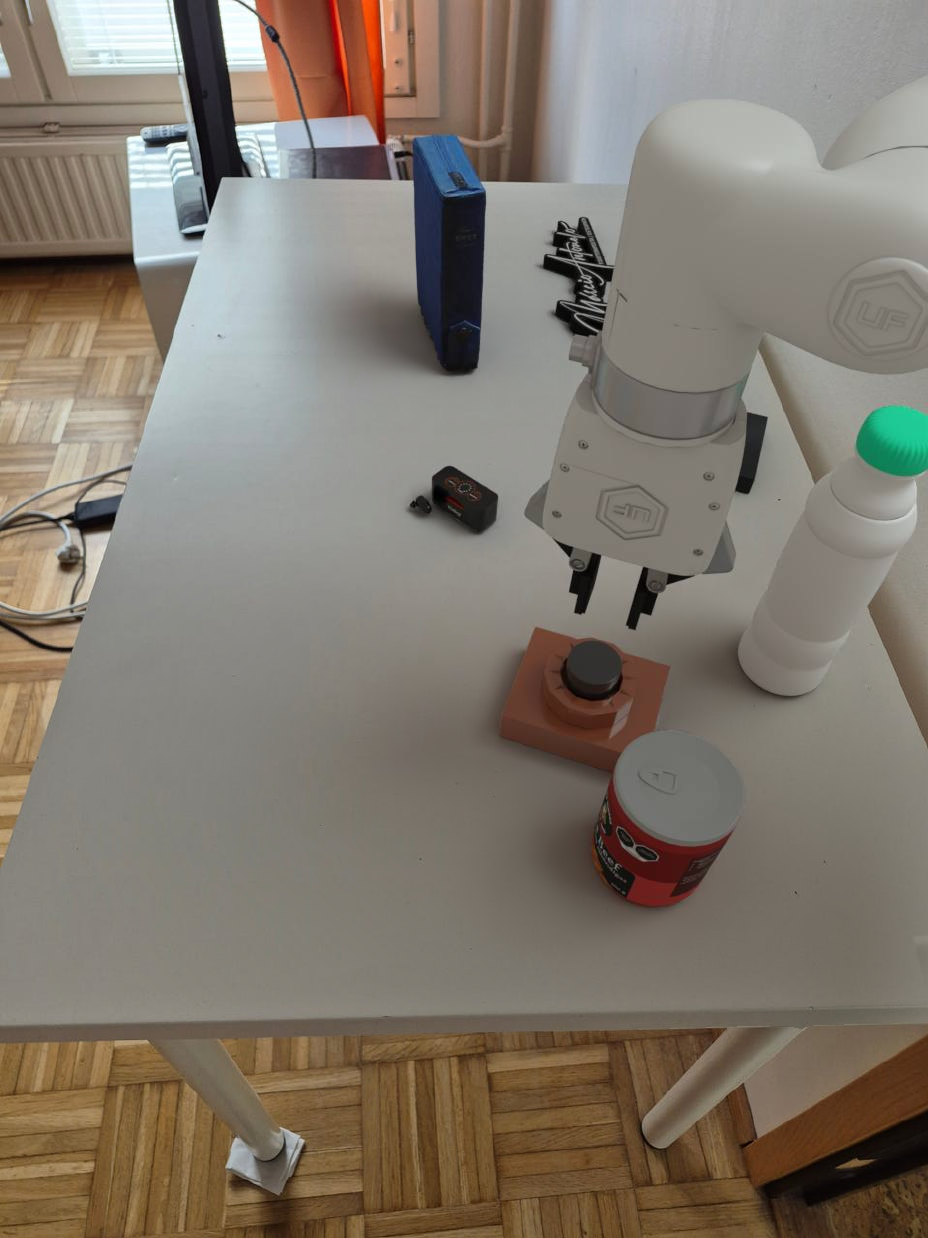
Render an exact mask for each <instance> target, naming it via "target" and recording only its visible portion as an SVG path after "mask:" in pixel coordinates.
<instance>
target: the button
mask: <svg viewBox="0 0 928 1238" xmlns="http://www.w3.org/2000/svg"><path fill="white" fill-rule="evenodd" d="M621 671H622V661H621V658H620V656H619V654H618V653H617V651H616V650H615V649H614V648H612V647H611V646H609V645H608V644H606V643H603V642H600V641H584V642H581V643H579V644H577V645H576V646H574V647H573V648H572V649H571V651H570V652H569V655H568V659H567V663H566V668H565V673H564V677H565V681H566V684H567V686H568V687H569V689H570V690H571V691H572V692H573V693H575V694H576V695H578V696H580V697H582V698H585V699H589V700H599V699H603V698H606V697H608V696H609V695H611V694H612V693H613V692H614V690H615V689H616V687H617V684H618V681H619V677H620V674H621Z"/></svg>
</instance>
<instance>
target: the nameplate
mask: <svg viewBox="0 0 928 1238" xmlns="http://www.w3.org/2000/svg"><path fill="white" fill-rule="evenodd" d="M552 246H553V247H556V250H555V254H551V253H545V254H544V255H543V263H542V264H543V265H542V268H543V269H544V270H547V271H550V272H553V273H556V274H560V275H562V276H565V277H568V278H571V279H573V281H574V286H573V287H574V288H573V294H574V295H575V298H574V301H570V300H565V299H559V300H557V301H556V304H555V305H556V306H555V316H556V317H557V318H559V319H560V320H562V321H563V322H566V323H567V324H569V327H568V328H569V330H570V331H571V332H572V333H573V335H575V334H577V335H581V336H585V337H589V335H593V336H597V334H598V332H599V330H600V331H602V330H603V324H604V319H605V314H606V308H607V303H608V301H607V302H605V301H604V299H603V298H604V296H605V294H606V289H607V288H606V287H607V282H611V281H612V276H613V270H614V265H615V264H614V265H613V264H607V261H606V258H605V256H604V254H603V251H602V248H601V246H600V243H599V241H598V239H597V237H596V233H595V232H594V229H593V226H592V223H591V221H590V219H589V218H588V217H586V216H580V217H578V221H577V227H576V229H575V228H573V227H570V225H569V224H568V223H567V222H566V221H563V220H558V221H557V227H556V231H554V232H553V237H552Z"/></svg>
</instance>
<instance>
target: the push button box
mask: <svg viewBox="0 0 928 1238" xmlns="http://www.w3.org/2000/svg"><path fill="white" fill-rule="evenodd" d="M584 641H600V642H603V643H606V644H608V645H609V646H611V647H612V648H614V649H615V650H616V651H617V653H618V654H619V656H620V658H621V661H622V671H621V674H620V677H619V681H618V684H617V687H616V689H615V690H614V692H613V693H612V694H611V695H609V696H608V697H606V698H603V699H599V700H589V699H585V698H582V697H580V696H578V695H576V694H575V693H573V692H572V691H571V690H570V689H569V687H568V686H567V684H566V681H565V677H564V673H565V668H566V663H567V659H568V655H569V652H570V651H571V649H572V648H573V647H574V646H576V645H577V644H579V643H581V642H584ZM670 668H671V666H670V665H668V664H664V663H661V662H657V661H654V660H652V659H647V658H644V657H640V656H637V655H635V654H630V653H627V652H624V651H623V650H622V649H621V648H619V647H618V646H617V645H616V644H614V643H612V642H609V641H605V640H601V639H598V638H595V637H581V638H576V637H572V636H568V635H566V634H563V633H558V632H556V631H552V630H549V629H546V628H543V627H539V626H535V627H534V629H533V632H532V634H531V636H530V639H529V642H528V644H527V647H526V649H525V653H524V655H523V657H522V660H521V662H520V665H519V668H518V670H517V673H516V676H515V678H514V681H513V684H512V686H511V688H510V692H509V694H508V697H507V699H506V702H505V704H504V707H503V710H502V713H501V714H500V715H501V716H500V722H499V730H498V737H501V738H503V739H507V740H511V741H513V742H516V743H518V744H519V743H520V744H522V745H525V746H529V747H532V748H535V749H538V750H541V751H544V752H547V753H551V754H554V755H557V756H561V757H563V758H566V759H570V760H572V761H576V762H578V763H581V764H585V765H589V766H591V767H594V768H598V769H601V770H604V771H607V772H611V773H613V771H614V768H615V766H616V763H617V761H618V759H619V757H620V756H621V754H622V753H623V751H624V750H625V748H626V747H627V746H628V745H629V744H630V743H631V742H632V741H634V740H635V739H637V738H639V737H640V736H642V735H645V734H648V733H651V732H655V728H656V724H657V721H658V716H659V712H660V708H661V704H662V701H663V696H664V692H665V688H666V684H667V679H668V676H669V672H670Z"/></svg>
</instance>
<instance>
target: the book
mask: <svg viewBox="0 0 928 1238" xmlns="http://www.w3.org/2000/svg"><path fill="white" fill-rule="evenodd" d="M411 145H412V181H413V212H414V213H413V215H414V247H415V248H414V250H415V274H416V292H417V293H416V294H417V296H416V297H417V303H418V306H419V308H420V315H421V316H422V317H423V325H425V328H426V330H427V331H428V333H429V339H430V340H431V341H432V345H433V346H434V347H433V348H434V351H435V352H436V356H437V361H438V363H439V366H441V368H442V369H444V370H445V371H449V372H470V371H471V370H473V371H474V370H476V369H478V367H479V361H480V351H481V333H482V317H483V315H482V314H483V293H484V292H483V291H484V266H485V239H486V238H485V236H486V211H487V191H486V188H485V187H484V185H483V184H482V182H481V180H480V179H479V177H478V173H476V171H475V168H474V167H473V165H472V163H471V161H470V159H469V157H468V155H467V154H466V152H465V149H464V147H463V144H462V143H461V141H460V139H459V138H458V136H457V135H456V134H454V133H452V134H431V135H425V136H415V137H414V138H413V139H412V142H411Z"/></svg>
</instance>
